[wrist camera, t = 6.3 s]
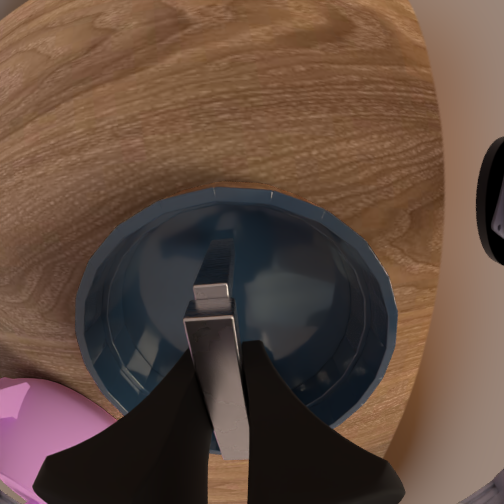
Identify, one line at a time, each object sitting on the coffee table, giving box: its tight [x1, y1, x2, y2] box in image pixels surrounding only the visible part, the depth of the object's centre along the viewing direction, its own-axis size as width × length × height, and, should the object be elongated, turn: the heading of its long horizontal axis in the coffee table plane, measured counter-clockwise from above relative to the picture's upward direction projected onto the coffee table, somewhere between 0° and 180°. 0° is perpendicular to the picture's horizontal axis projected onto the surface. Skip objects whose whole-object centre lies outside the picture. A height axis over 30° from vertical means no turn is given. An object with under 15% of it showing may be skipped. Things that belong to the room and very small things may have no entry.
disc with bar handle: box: [183, 238, 249, 460], centre depth 11 cm, size 10×4×6 cm, turn 5°
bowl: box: [75, 181, 398, 455], centre depth 13 cm, size 14×14×4 cm
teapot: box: [0, 377, 117, 504], centre depth 13 cm, size 22×16×12 cm
